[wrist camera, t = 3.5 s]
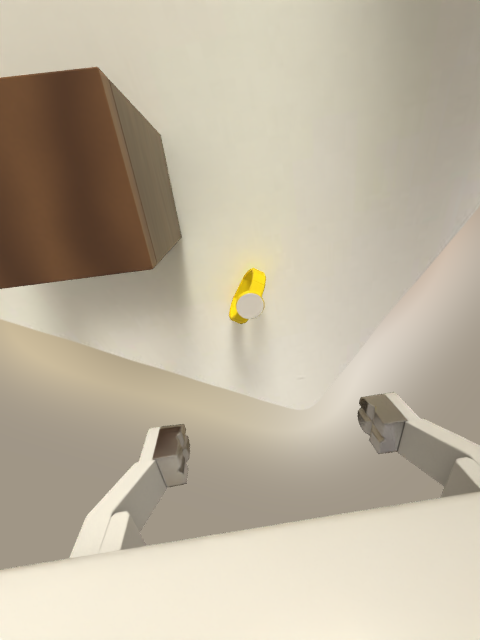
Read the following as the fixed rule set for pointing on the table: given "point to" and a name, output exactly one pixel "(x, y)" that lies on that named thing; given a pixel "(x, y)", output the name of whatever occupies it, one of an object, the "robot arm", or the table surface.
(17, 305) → the table surface
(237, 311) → the watch
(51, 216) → the box
